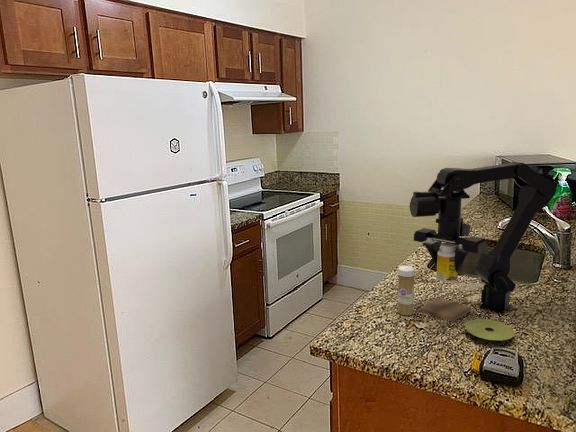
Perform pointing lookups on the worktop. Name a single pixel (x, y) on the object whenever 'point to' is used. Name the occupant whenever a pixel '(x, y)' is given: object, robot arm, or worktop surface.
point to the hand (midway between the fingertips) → (447, 269)
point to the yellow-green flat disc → (489, 329)
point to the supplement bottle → (446, 263)
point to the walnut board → (445, 309)
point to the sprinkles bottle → (405, 290)
